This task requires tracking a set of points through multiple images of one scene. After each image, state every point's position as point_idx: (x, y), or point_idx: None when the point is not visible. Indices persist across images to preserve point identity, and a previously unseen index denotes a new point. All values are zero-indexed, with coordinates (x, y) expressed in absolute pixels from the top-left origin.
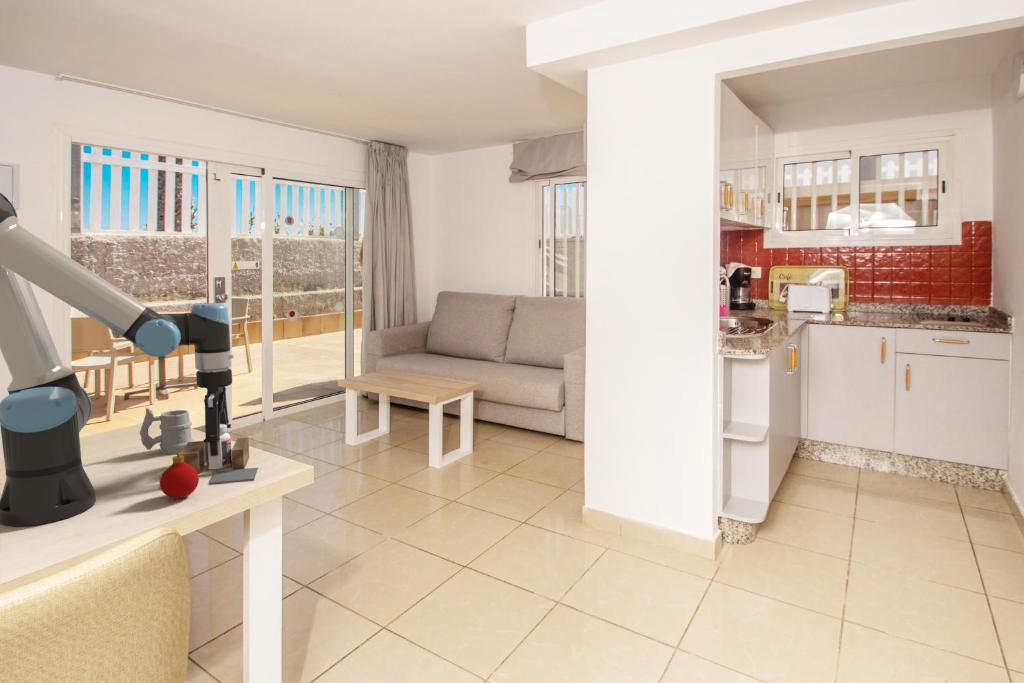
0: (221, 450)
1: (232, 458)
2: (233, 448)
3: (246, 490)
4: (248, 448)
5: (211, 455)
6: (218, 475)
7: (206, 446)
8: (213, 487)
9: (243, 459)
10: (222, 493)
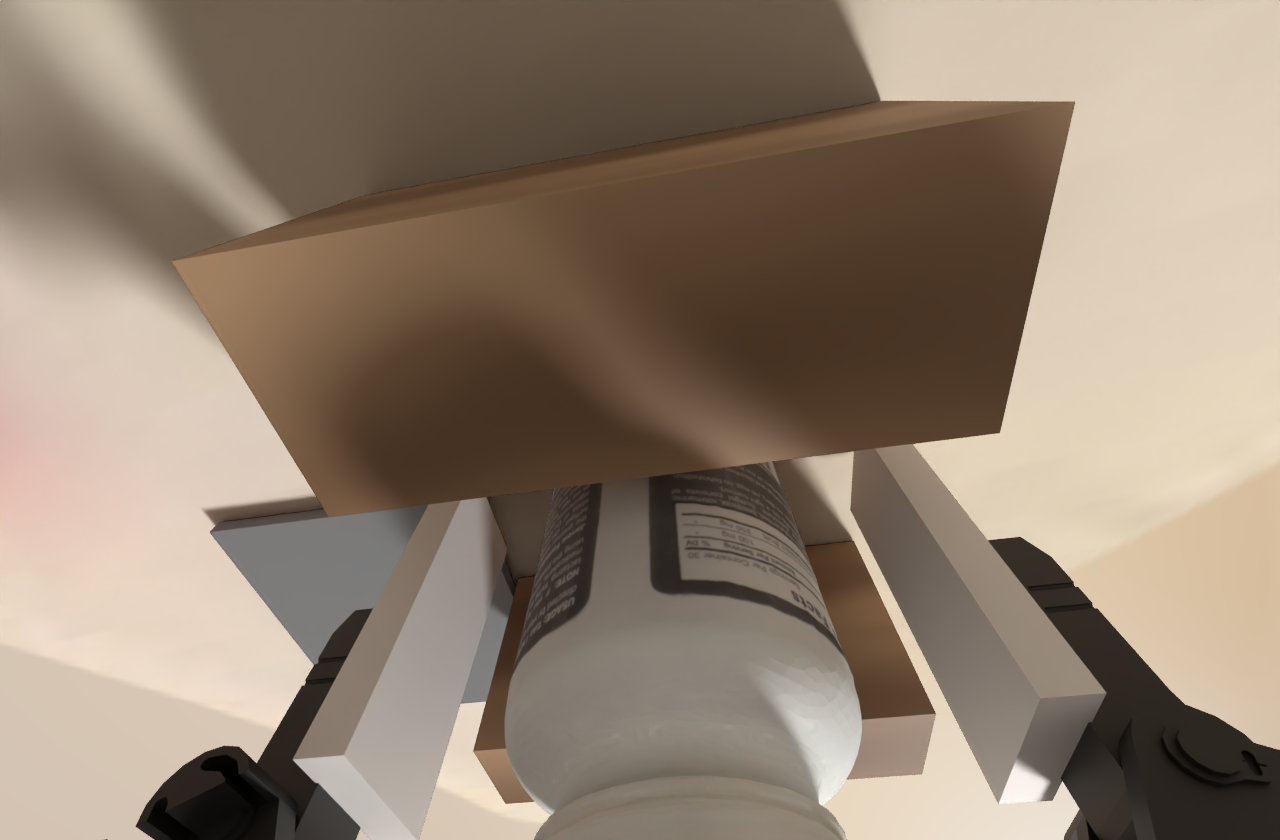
0: (456, 696)
1: (497, 672)
2: None
3: (198, 701)
4: None
5: (353, 622)
6: (373, 542)
7: (580, 555)
8: (177, 556)
9: None
10: (105, 622)
